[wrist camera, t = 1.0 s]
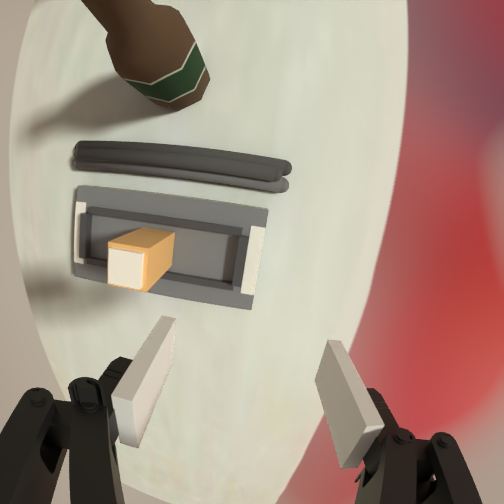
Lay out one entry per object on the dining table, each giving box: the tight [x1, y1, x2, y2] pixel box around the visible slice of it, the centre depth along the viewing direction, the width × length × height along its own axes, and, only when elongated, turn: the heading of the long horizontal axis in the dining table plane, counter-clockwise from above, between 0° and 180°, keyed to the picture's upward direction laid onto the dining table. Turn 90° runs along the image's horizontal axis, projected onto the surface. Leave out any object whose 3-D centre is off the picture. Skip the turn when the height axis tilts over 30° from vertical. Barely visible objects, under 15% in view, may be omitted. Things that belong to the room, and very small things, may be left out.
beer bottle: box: [81, 0, 210, 111], centre depth 19 cm, size 8×8×24 cm
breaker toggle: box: [107, 227, 175, 292], centre depth 28 cm, size 4×4×10 cm
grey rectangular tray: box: [74, 185, 268, 310], centre depth 33 cm, size 12×24×3 cm, turn 81°
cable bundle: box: [73, 141, 292, 193], centre depth 31 cm, size 28×4×3 cm, turn 81°
